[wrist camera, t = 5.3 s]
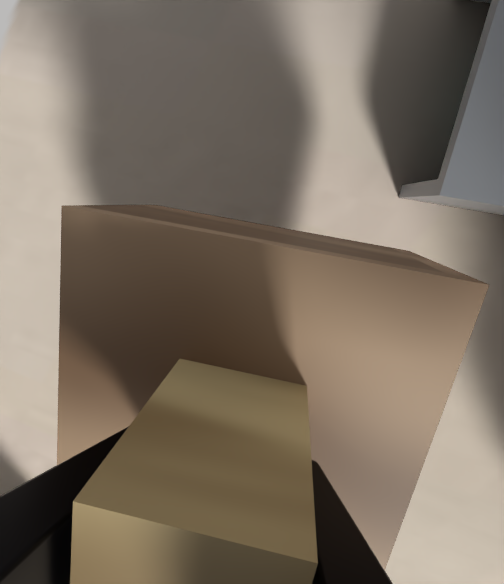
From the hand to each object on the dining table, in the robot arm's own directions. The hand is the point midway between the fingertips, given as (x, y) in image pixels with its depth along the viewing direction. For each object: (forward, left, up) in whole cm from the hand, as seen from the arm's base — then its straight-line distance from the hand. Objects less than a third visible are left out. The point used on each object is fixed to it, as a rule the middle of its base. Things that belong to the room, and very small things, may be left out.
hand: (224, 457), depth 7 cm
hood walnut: (0, 0, -6) cm, 6 cm away
